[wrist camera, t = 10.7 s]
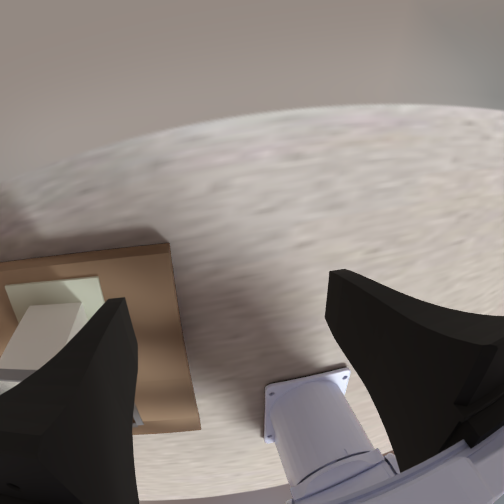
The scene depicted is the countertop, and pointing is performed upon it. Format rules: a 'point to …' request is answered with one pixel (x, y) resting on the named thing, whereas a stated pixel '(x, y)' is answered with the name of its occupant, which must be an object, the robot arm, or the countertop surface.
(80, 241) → the countertop surface
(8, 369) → the plug
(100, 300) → the brown board with panel
